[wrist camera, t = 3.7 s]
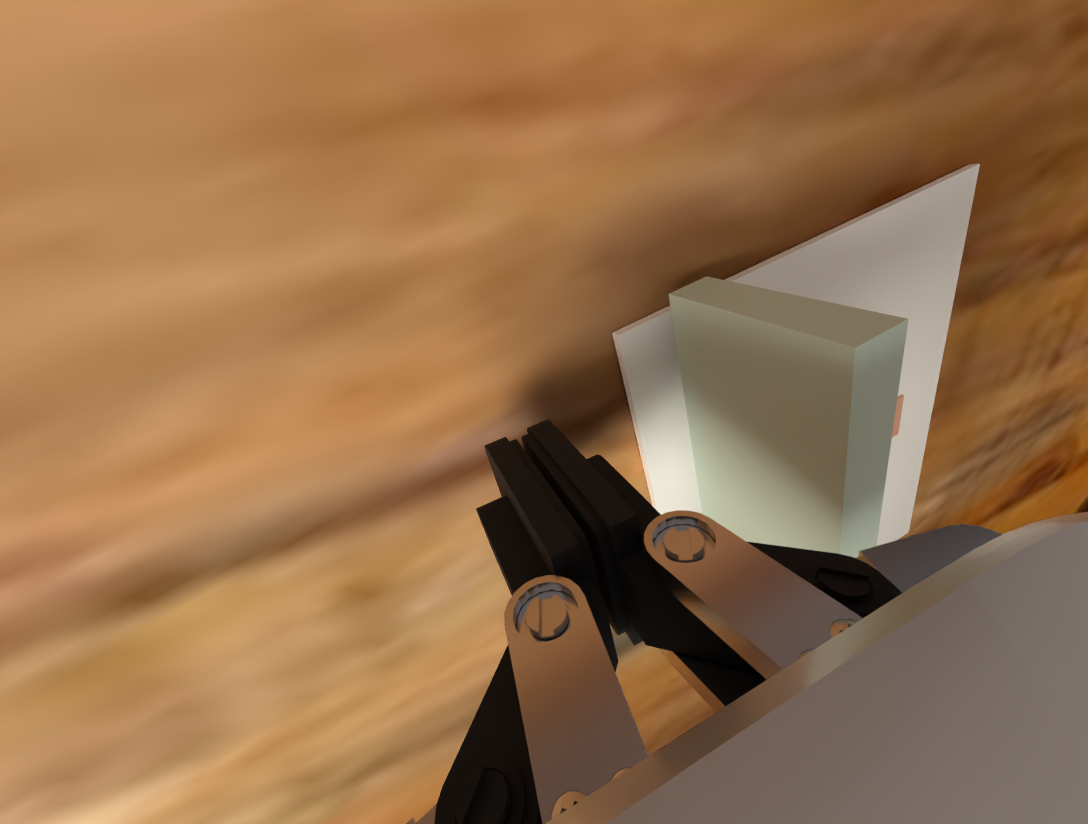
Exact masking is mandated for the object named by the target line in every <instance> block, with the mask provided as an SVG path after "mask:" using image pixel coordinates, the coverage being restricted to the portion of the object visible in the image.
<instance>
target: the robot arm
mask: <svg viewBox="0 0 1088 824" xmlns="http://www.w3.org/2000/svg"><path fill="white" fill-rule="evenodd" d="M527 432H528V434H527V435H524V436H522V442H523V445H524V449H525V450H524V449H523V448H522V446H521V445H520V444H519V442H518V441H517V440H516V439H515V440H512V441H510V442H509V441H508V439H507V438H506V437H504V438H502V439H499V440H497V441H495V442H492V443H490V444H487V445H485V450H486V453H487V456H488V459H489V462H490V465H491V467H492V470H493V473H494V476H495V479H496V482H497V485H498V487H499V490H500V493H501V496H502V497H501V498H499V499H497V500H494V501H492V502H490V503H488V504H486V505H483V506H481V507H479V508H477V509H476V510H477V513H478V515H479V518H480V520H481V523H482V525H483V528H484V530H485V533H486V535H487V538H488V540H489V543H490V545H491V548H492V550H493V552H494V555H495V557H496V560H497V562H498V564H499V567H500V569H501V571H502V574H503V576H504V578H505V581H506V583H507V585H508V588H509V590H510V592H511V595H512V597H511V599H510V600H509V602H508V604H507V607H506V610H505V613H504V616H505V630H506V635H507V640H508V646H507V648H506V650H505V652H504V655H503V657H502V659H501V661H500V663H499V665H498V668H497V670H496V672H495V674H494V676H493V678H492V681H491V683H490V685H489V687H488V689H487V691H486V694H485V696H484V698H483V700H482V702H481V704H480V707H479V709H478V711H477V713H476V715H475V717H474V720H473V722H472V724H471V726H470V728H469V730H468V733H467V735H466V737H465V739H464V741H463V744H462V746H461V748H460V750H459V752H458V754H457V757H456V759H455V761H454V763H453V765H452V767H451V770H450V772H449V774H448V776H447V778H446V780H445V783H444V785H443V787H442V790H441V793H440V796H439V799H438V802H437V804H436V805H435V806H434V807H433V808H431V809H430V810H429V811H428V812H427V813H426V814H425V815H424V816H423V817H422V818H421V819H420V820H419V821H418V822H416V821H415V819H414V818H412V819H410V820H409V821H408V822H407V823H406V824H1088V512H1082V513H1074V514H1067V515H1063V516H1058V517H1053V518H1048V519H1045V520H1041V521H1038V522H1034V523H1030V524H1028V525H1025V526H1022V527H1020V528H1017V529H1015V530H1012V531H1009V532H1007V533H1005V534H1003V535H1002V534H1000V533H998V532H996V531H993V530H990V529H987V528H983V527H980V526H974V525H965V524H959V525H951V526H946V527H942V528H939V529H935V530H932V531H928V532H925V533H921V534H918V535H914V536H910V537H907V538H903V539H900V540H896V541H893V542H889V543H886V544H882V545H879V546H875V547H872V548H868V549H865V550H861V551H859V555H858V557H857V558H854V557H851V556H846V555H842V554H838V553H830V552H822V551H815V550H807V549H800V548H792V547H784V546H777V545H769V544H761V543H754V542H746V541H745V540H743V539H742V538H740V537H738V536H737V535H735V534H734V533H732V532H731V531H729V530H728V529H726V528H725V527H723V526H722V525H720V524H719V523H717V522H716V521H714V520H713V519H711V518H709V517H707V516H705V515H703V514H701V513H697V512H693V511H688V510H676V511H672V512H667V513H664V514H662V515H661V514H660V513H659V512H658V511H657V510H656V509H655V508H654V507H653V506H652V505H651V504H650V503H649V502H648V501H647V500H646V499H645V498H644V497H643V496H642V495H641V494H640V493H639V492H638V491H637V490H636V489H635V488H634V487H633V486H632V485H631V484H630V483H629V482H628V481H627V480H626V479H625V478H624V477H622V476H621V475H620V474H619V473H618V472H617V471H616V470H615V469H614V468H613V467H612V466H611V465H610V464H609V463H608V462H607V461H606V460H605V459H604V458H603V457H602V456H600V455H595V456H593V457H591V458H588V459H585V458H584V456H583V455H582V454H581V453H580V452H579V451H578V450H577V449H576V448H575V447H574V446H573V445H572V444H571V443H570V442H569V440H568V439H567V438H566V437H565V436H564V435H563V434H562V433H561V432H560V431H559V430H558V429H557V428H556V427H555V426H554V425H553V423H552V422H551V421H550V420H545V421H543V422H540V423H538V424H536V425H533V426H531V427H528V428H527ZM609 623H610V624H609ZM610 625H611V626H612V628H613V629H614V631H615V632H616V633H617V635H620V634H622V633H624V632H626V634H627V635H628V637H629V638H630V640H631V641H632V643H633V644H634V645H636V644H638V643H640V642H641V641H644V643H645V644H646V645H648V646H652V647H656V648H660V649H661V650H662V653H663V654H664V656H665V657H666V659H667V660H668V661H669V662H670V663H671V665H672V666H673V667H674V668H675V669H676V670H677V671H678V672H679V673H680V674H681V675H682V676H683V677H684V678H685V680H686V681H687V682H688V683H689V684H690V685H691V686H692V687H693V688H694V689H695V690H696V691H697V692H698V693H699V695H700V696H701V697H702V698H703V699H704V700H705V701H706V702H707V703H708V704H709V705H710V706H711V707H712V708H713V710H714V711H715V712H716V713H715V714H713V715H712V716H710V717H709V718H707V719H706V720H704V721H702V722H701V723H699V724H698V725H696V726H695V727H693V728H692V729H690V730H689V731H687V732H685V733H684V734H682V735H681V736H679V737H678V738H676V739H675V740H673V741H671V742H670V743H668V744H667V745H665V746H664V747H662V748H661V749H659V750H658V751H656V752H655V753H653V754H652V755H650V756H648V754H647V751H646V749H645V746H644V744H643V741H642V739H641V736H640V734H639V731H638V729H637V726H636V723H635V721H634V718H633V716H632V713H631V711H630V708H629V706H628V703H627V701H626V698H625V696H624V693H623V691H622V688H621V686H620V683H619V681H618V678H617V676H616V673H615V672H616V668H617V664H618V658H617V654H616V650H615V645H614V641H613V637H612V633H611V628H610Z"/></svg>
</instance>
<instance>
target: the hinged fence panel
mask: <svg viewBox="0 0 1088 824" xmlns="http://www.w3.org/2000/svg"><path fill="white" fill-rule="evenodd" d="M669 301H670V307H671V314H672V320H673V327H674V333H675V340H676V346H677V353H678V359H679V366H680V372H681V379H682V385H683V392H684V398H685V405H686V411H687V418H688V424H689V431H690V437H691V444H692V450H693V457H694V463H695V470H696V476H697V482H698V489H699V495H700V502H701V508H702V514H703V515H705V516H707V517H709V518H711V519H713V520H714V521H716V522H717V523H719V524H720V525H722V526H723V527H725V528H726V529H728V530H729V531H731V532H732V533H734V534H735V535H737V536H738V537H740V538H742V539H743V540H745V541H746V542H754V543H761V544H769V545H777V546H784V547H792V548H800V549H807V550H815V551H822V552H830V553H838V554H842V555H846V556H851V557H854V558H857V557H858V555H859V551H861V550H865V549H868V548H872V547H875V546H877V539H878V532H879V524H880V517H881V510H882V503H883V496H884V489H885V482H886V475H887V468H888V461H889V454H890V447H891V440H892V433H893V425H894V418H895V411H896V404H897V397H898V390H899V383H900V376H901V369H902V362H903V355H904V348H905V341H906V334H907V327H908V319H907V318H902V317H898V316H893V315H888V314H883V313H879V312H874V311H869V310H864V309H859V308H855V307H850V306H845V305H840V304H836V303H831V302H826V301H821V300H817V299H812V298H807V297H802V296H798V295H793V294H788V293H783V292H779V291H774V290H769V289H764V288H759V287H755V286H750V285H745V284H740V283H736V282H731V281H726V280H721V279H717V278H712V277H707V276H706V277H704V278H702V279H700V280H697V281H695V282H693V283H691V284H689V285H687V286H684V287H682V288H680V289H678V290H676V291H674V292H672V293H669Z"/></svg>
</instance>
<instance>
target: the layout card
mask: <svg viewBox="0 0 1088 824" xmlns="http://www.w3.org/2000/svg"><path fill="white" fill-rule="evenodd" d="M979 167H980V164H969V165H967V166H965V167H962V168H960V169H958V170H956V171H954V172H952V173H950V174H948V175H945V176H943V177H941V178H939V179H937V180H935V181H933V182H931V183H929V184H926V185H924V186H922V187H920V188H918V189H916V190H914V191H912V192H909V193H907V194H905V195H903V196H901V197H899V198H897V199H895V200H892V201H890V202H888V203H886V204H884V205H882V206H880V207H878V208H875V209H873V210H871V211H869V212H867V213H865V214H863V215H861V216H858V217H856V218H854V219H852V220H850V221H848V222H846V223H844V224H842V225H839V226H837V227H835V228H833V229H831V230H829V231H827V232H825V233H822V234H820V235H818V236H816V237H814V238H812V239H810V240H808V241H805V242H803V243H801V244H799V245H797V246H795V247H793V248H791V249H788V250H786V251H784V252H782V253H780V254H778V255H776V256H774V257H771V258H769V259H767V260H765V261H763V262H761V263H759V264H757V265H754V266H752V267H750V268H748V269H746V270H744V271H742V272H740V273H738V274H735V275H733V276H731V277H729V278H727V279H725V280H726V281H731V282H736V283H740V284H745V285H750V286H755V287H759V288H764V289H769V290H774V291H779V292H783V293H788V294H793V295H798V296H802V297H807V298H812V299H817V300H821V301H826V302H831V303H836V304H840V305H845V306H850V307H855V308H859V309H864V310H869V311H874V312H879V313H883V314H888V315H893V316H898V317H902V318H907V319H908V327H907V334H906V341H905V348H904V355H903V362H902V369H901V376H900V383H899V390H898V397H897V404H896V411H895V418H894V425H893V433H892V440H891V447H890V454H889V461H888V468H887V475H886V482H885V489H884V496H883V503H882V510H881V517H880V524H879V532H878V539H877V546H879V545H882V544H886V543H889V542H893V541H896V540H898V539H899V538H901V537H902V536H904V535H905V534H907V533H908V532H909V529H910V523H911V518H912V513H913V508H914V503H915V498H916V492H917V487H918V482H919V477H920V472H921V467H922V461H923V456H924V451H925V446H926V441H927V436H928V430H929V425H930V420H931V415H932V410H933V404H934V399H935V394H936V389H937V384H938V379H939V373H940V368H941V363H942V358H943V353H944V348H945V342H946V337H947V332H948V327H949V322H950V317H951V311H952V306H953V301H954V296H955V291H956V286H957V280H958V275H959V270H960V265H961V260H962V255H963V249H964V244H965V239H966V234H967V229H968V224H969V218H970V213H971V208H972V203H973V198H974V192H975V187H976V182H977V177H978V172H979ZM612 335H613V339H614V343H615V348H616V352H617V356H618V360H619V365H620V369H621V373H622V378H623V382H624V386H625V390H626V395H627V399H628V403H629V408H630V412H631V416H632V420H633V425H634V429H635V433H636V437H637V442H638V446H639V450H640V455H641V459H642V463H643V467H644V472H645V476H646V480H647V485H648V489H649V493H650V497H651V502H652V506H653V507H654V508H655V509H656V510H657V511H658V512H659V513H660V514H661V515H662V514H664V513H667V512H672V511H676V510H688V511H693V512H697V513H701V514H702V508H701V502H700V495H699V489H698V482H697V476H696V470H695V463H694V457H693V450H692V444H691V437H690V431H689V424H688V418H687V411H686V405H685V398H684V392H683V385H682V379H681V372H680V366H679V359H678V353H677V346H676V340H675V333H674V327H673V320H672V314H671V307H670V306H667V307H665V308H663V309H661V310H659V311H657V312H655V313H653V314H651V315H648V316H646V317H644V318H642V319H640V320H638V321H636V322H634V323H631V324H629V325H627V326H625V327H623V328H621V329H619V330H617V331H614V332H612Z"/></svg>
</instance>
